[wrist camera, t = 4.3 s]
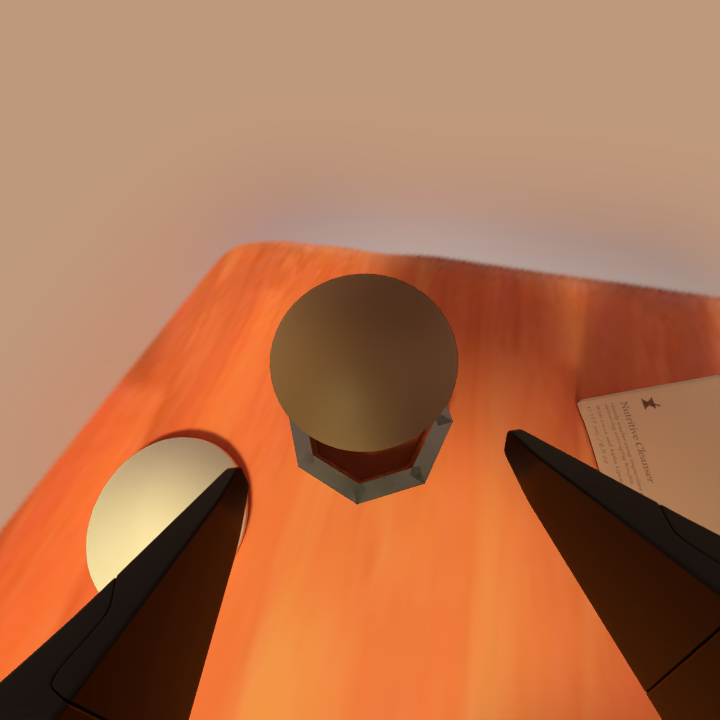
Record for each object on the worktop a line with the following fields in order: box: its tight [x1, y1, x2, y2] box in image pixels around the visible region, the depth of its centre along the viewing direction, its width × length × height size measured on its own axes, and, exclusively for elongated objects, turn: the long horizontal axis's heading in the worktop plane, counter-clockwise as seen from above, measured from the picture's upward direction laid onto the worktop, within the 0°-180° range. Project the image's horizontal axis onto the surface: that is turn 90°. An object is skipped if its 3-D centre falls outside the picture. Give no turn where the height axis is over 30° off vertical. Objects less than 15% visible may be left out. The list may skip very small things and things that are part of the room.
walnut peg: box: [270, 274, 458, 452], centre depth 13 cm, size 5×5×13 cm
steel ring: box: [289, 405, 453, 504], centre depth 18 cm, size 10×10×2 cm
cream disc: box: [86, 437, 248, 592], centre depth 17 cm, size 10×10×1 cm
